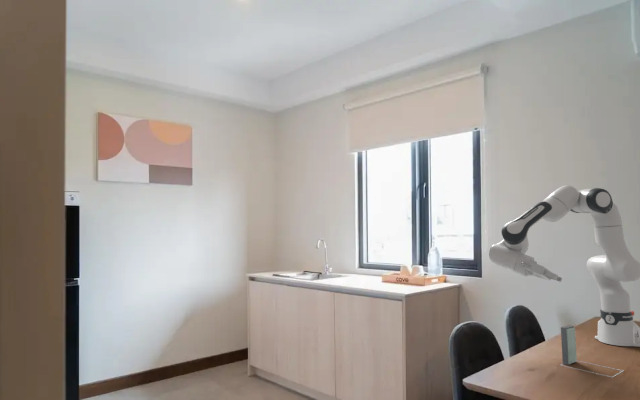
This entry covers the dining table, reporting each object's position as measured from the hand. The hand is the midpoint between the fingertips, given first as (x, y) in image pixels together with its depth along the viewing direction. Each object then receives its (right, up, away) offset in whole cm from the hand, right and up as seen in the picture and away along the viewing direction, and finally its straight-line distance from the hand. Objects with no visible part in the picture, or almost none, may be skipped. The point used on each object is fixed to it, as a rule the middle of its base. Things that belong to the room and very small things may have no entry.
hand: (559, 278), depth 181 cm
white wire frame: (+3, -31, -16) cm, 35 cm away
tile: (-1, -31, -10) cm, 33 cm away
